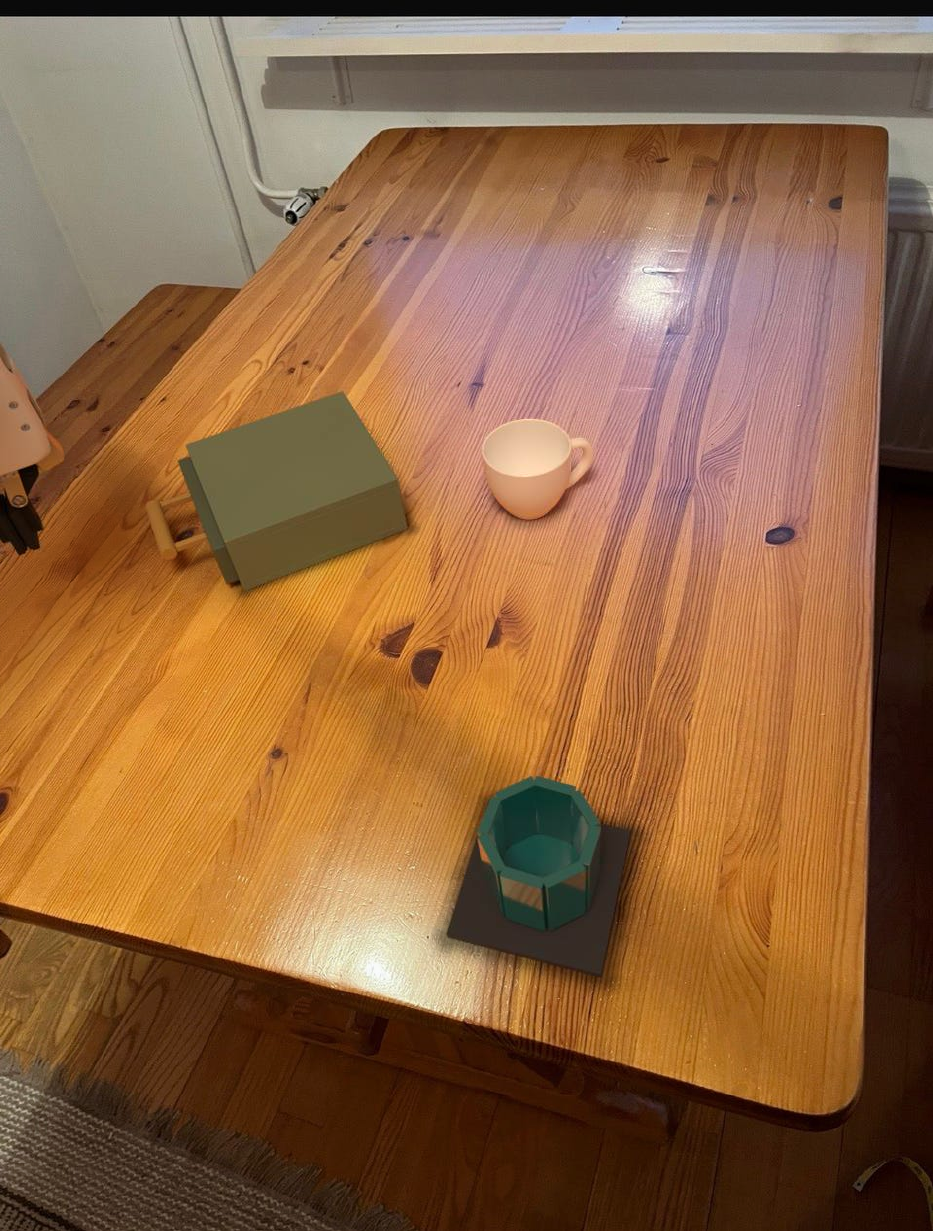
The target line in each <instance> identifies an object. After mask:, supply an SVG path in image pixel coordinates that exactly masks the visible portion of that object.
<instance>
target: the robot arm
mask: <svg viewBox="0 0 933 1231" xmlns="http://www.w3.org/2000/svg"><path fill="white" fill-rule="evenodd" d="M46 427H47V421H46V419H45V416H44V414H43V412H42V410H41V407H40V406H39V404H38V402H37V400H36V398H35V397H34V395H33V393H32V392H31V389H30V388H29V386H28V384H27V383H26V381H25V379H24V378H23V376H22V374H21V373H20V371H19V369H18V367H17V366H16V365H15V363H14V362H13V360H12V358H11V357H10V355H9V354H8V352H7V351H6V350H5V348H4V347H3V345H2V344H1V343H0V480H1V483H2V486H3V492H4V493H3V492H2V493H0V542H1V543H2V544H7V543H10V544H11V546H12V547H13V549H14V550H15V552H16V554H17V555H18V556H22V555H25V554H27V552H28V551H30V550H31V551H36V550H39V549H41V543H40V538H39V532H42V531H44V525H43V521H42V519H41V517H40V515H39V512H37V510H36V508H35V506H34V505H33V503H32V501H31V499H30V498H29V495H30V493H31V491H32V489H33V488H34V485H35V484H36V481H37V480H38V478H39V476H40V474H42V473H46V472H48V471H49V470H51V469H52V468H54V467H56V466H58V465H59V464H61V463H63V462H64V460H65V454H64V453H65V452H64V448H63V446H62V445H61V443H60V442H59V441H58V440H57V439H56V438H55V436H54V435H52V433H51V432H49V430H48V429H47V428H46Z"/></svg>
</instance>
